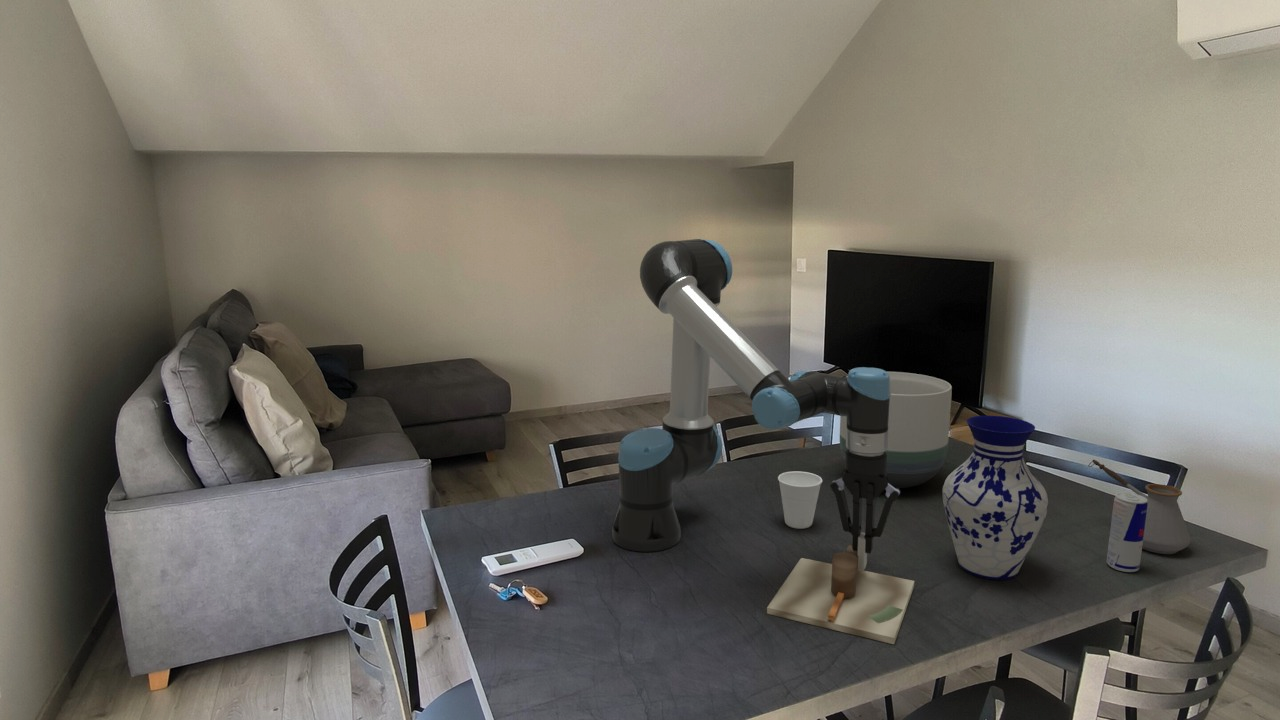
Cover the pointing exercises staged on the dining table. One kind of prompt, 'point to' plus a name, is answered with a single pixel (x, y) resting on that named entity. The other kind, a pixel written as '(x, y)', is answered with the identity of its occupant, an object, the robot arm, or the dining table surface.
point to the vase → (994, 500)
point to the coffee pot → (1159, 517)
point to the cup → (799, 497)
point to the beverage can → (1127, 531)
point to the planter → (914, 428)
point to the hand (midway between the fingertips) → (861, 566)
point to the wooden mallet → (843, 577)
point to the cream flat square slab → (844, 601)
